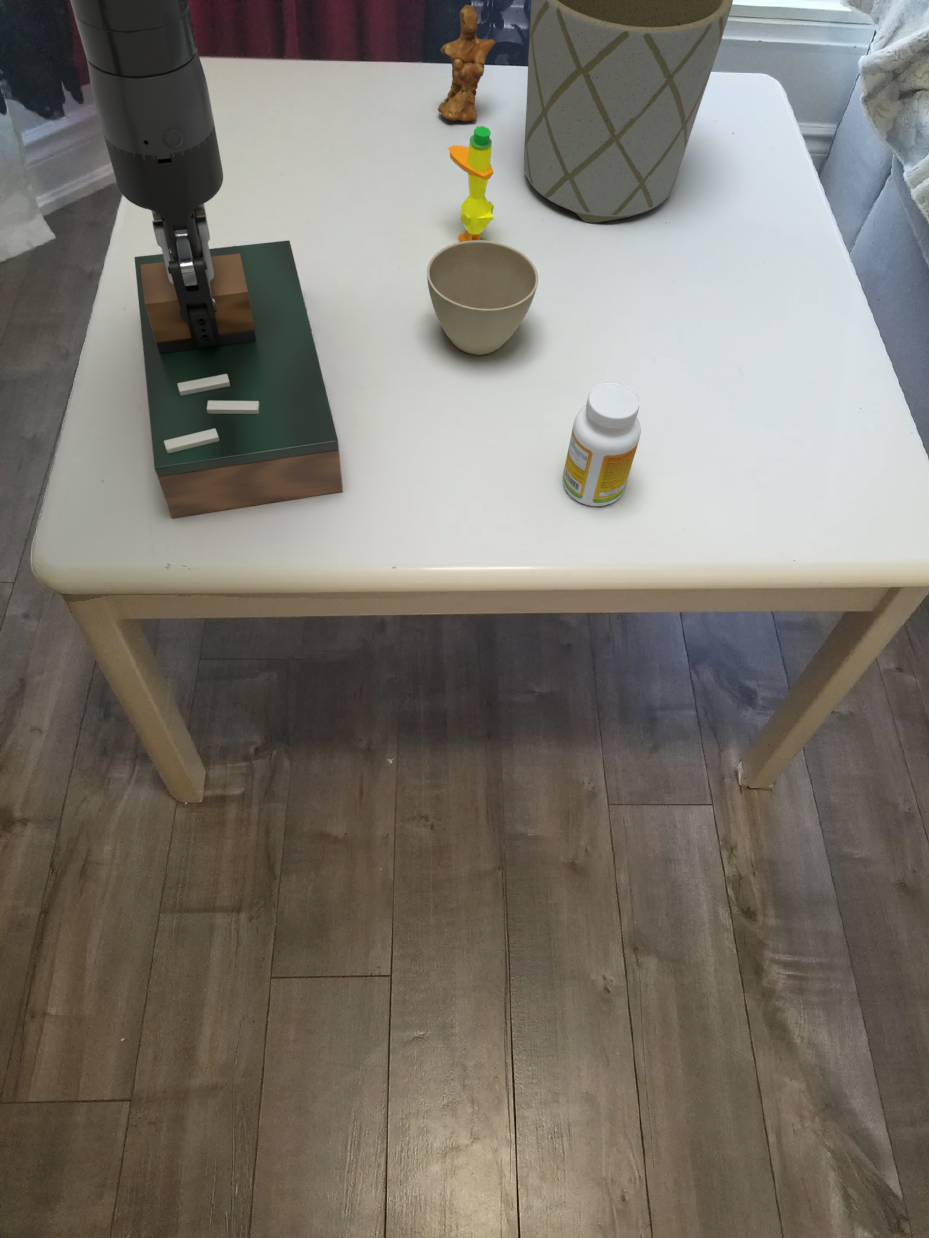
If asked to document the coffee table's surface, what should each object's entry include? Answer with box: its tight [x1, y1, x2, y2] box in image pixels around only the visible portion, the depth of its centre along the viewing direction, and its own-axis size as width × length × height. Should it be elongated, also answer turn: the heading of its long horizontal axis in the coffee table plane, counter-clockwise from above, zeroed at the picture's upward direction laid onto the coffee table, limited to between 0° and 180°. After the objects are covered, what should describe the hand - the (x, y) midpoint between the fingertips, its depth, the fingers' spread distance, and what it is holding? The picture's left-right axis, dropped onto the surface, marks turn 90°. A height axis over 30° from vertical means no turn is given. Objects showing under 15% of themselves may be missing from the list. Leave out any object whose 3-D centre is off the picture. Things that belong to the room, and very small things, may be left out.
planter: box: [523, 0, 734, 224], centre depth 95 cm, size 19×19×20 cm
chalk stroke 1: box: [178, 374, 230, 396], centre depth 74 cm, size 4×1×1 cm, turn 109°
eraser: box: [140, 254, 256, 354], centre depth 76 cm, size 8×5×5 cm, turn 105°
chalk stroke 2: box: [164, 428, 219, 454], centre depth 70 cm, size 4×1×1 cm, turn 112°
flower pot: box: [426, 239, 539, 356], centre depth 85 cm, size 10×10×7 cm
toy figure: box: [447, 125, 495, 242], centre depth 91 cm, size 7×4×12 cm, turn 42°
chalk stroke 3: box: [207, 401, 260, 414], centre depth 72 cm, size 4×1×1 cm, turn 92°
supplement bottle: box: [562, 382, 642, 507], centre depth 74 cm, size 5×5×10 cm
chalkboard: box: [134, 239, 344, 519], centre depth 79 cm, size 14×26×6 cm, turn 14°
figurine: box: [437, 4, 496, 122], centre depth 104 cm, size 5×6×12 cm
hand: (203, 321), depth 77 cm, fingers closed on eraser, 5 cm apart
